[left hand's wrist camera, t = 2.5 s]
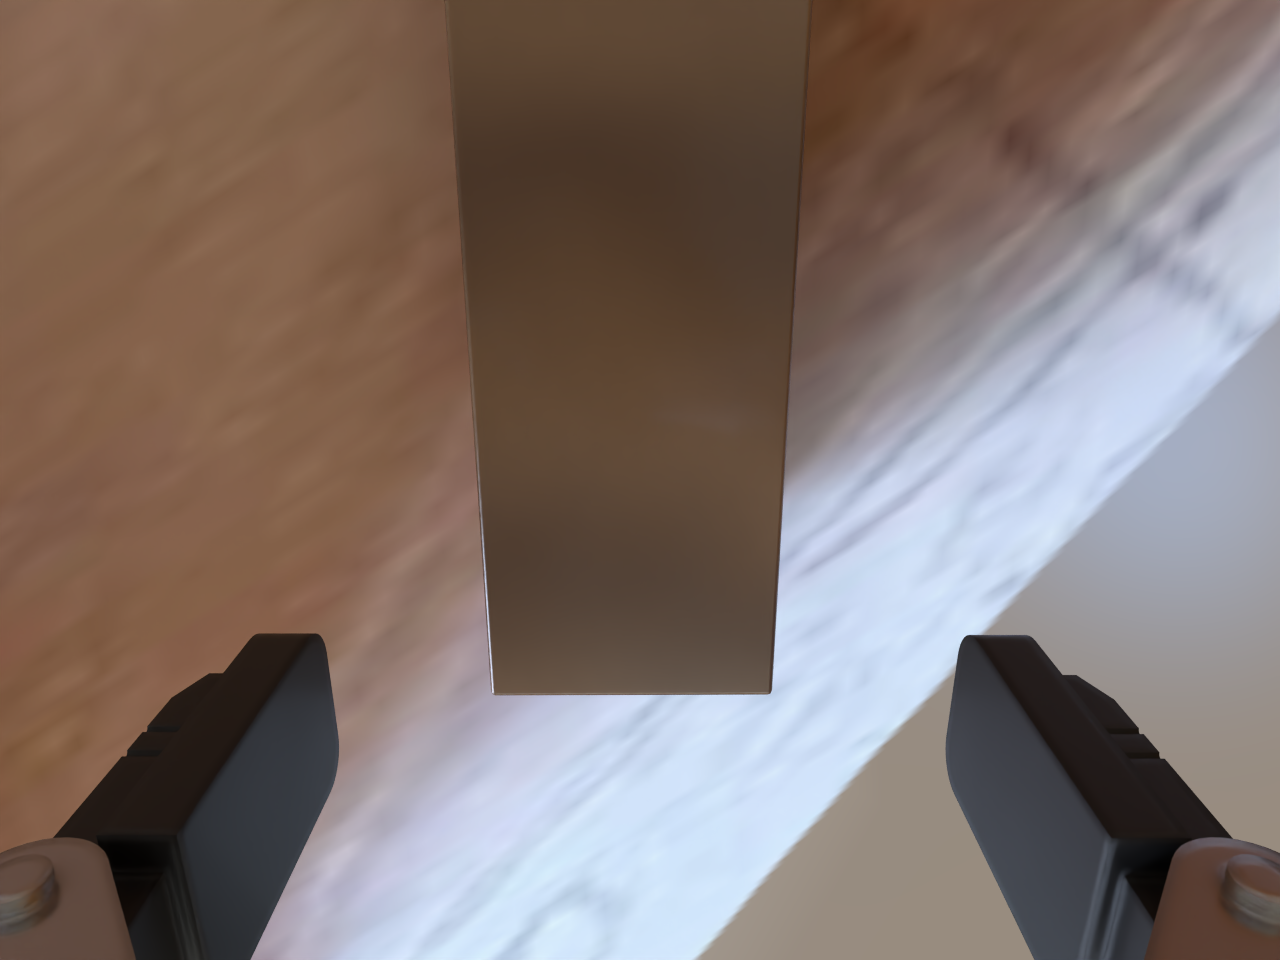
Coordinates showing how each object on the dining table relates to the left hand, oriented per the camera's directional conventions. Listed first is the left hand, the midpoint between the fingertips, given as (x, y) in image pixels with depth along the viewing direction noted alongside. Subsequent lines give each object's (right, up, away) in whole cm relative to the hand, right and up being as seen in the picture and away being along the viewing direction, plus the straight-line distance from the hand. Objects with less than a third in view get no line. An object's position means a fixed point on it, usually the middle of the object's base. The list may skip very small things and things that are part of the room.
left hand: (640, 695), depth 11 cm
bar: (0, +14, +10) cm, 17 cm away
